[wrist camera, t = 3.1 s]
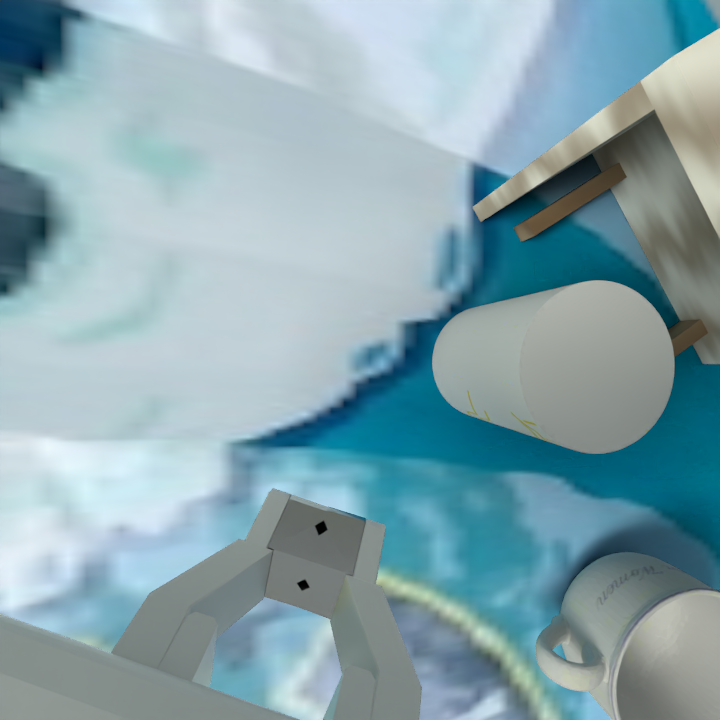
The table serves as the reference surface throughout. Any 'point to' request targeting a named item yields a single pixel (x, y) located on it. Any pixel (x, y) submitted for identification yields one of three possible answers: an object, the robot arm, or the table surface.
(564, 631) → the teacup
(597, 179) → the marbled side table
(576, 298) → the cup
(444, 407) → the table surface
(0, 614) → the robot arm
